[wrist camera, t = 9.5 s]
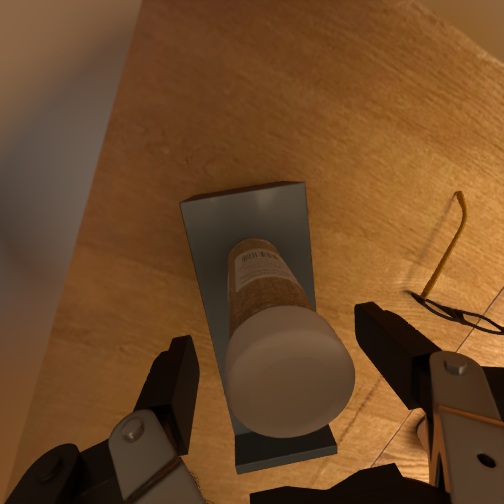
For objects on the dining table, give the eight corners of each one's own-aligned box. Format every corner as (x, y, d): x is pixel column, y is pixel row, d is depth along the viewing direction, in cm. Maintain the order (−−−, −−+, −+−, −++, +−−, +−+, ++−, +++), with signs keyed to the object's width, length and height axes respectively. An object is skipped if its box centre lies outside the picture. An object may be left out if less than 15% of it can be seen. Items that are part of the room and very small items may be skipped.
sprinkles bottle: (221, 279, 21) (209, 436, 8) (235, 229, 20) (247, 320, 7) (271, 292, 22) (331, 452, 9) (288, 244, 21) (382, 350, 8)
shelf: (193, 195, 27) (169, 206, 16) (283, 180, 27) (318, 182, 17) (234, 384, 34) (237, 475, 24) (305, 370, 35) (337, 453, 24)
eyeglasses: (396, 296, 33) (419, 311, 29) (456, 190, 29) (490, 191, 25) (480, 323, 35) (510, 341, 31) (544, 229, 32) (587, 236, 28)
